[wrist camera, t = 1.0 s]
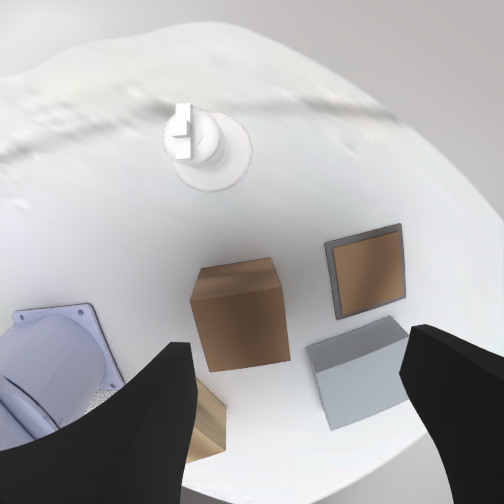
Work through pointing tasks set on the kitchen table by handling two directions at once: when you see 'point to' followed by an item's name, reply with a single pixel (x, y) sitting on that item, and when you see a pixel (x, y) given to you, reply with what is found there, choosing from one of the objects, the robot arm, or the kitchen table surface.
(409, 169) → the kitchen table surface
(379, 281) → the walnut swatch
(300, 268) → the kitchen table surface
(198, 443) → the oak block
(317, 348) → the base block
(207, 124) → the chess piece
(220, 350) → the walnut block
